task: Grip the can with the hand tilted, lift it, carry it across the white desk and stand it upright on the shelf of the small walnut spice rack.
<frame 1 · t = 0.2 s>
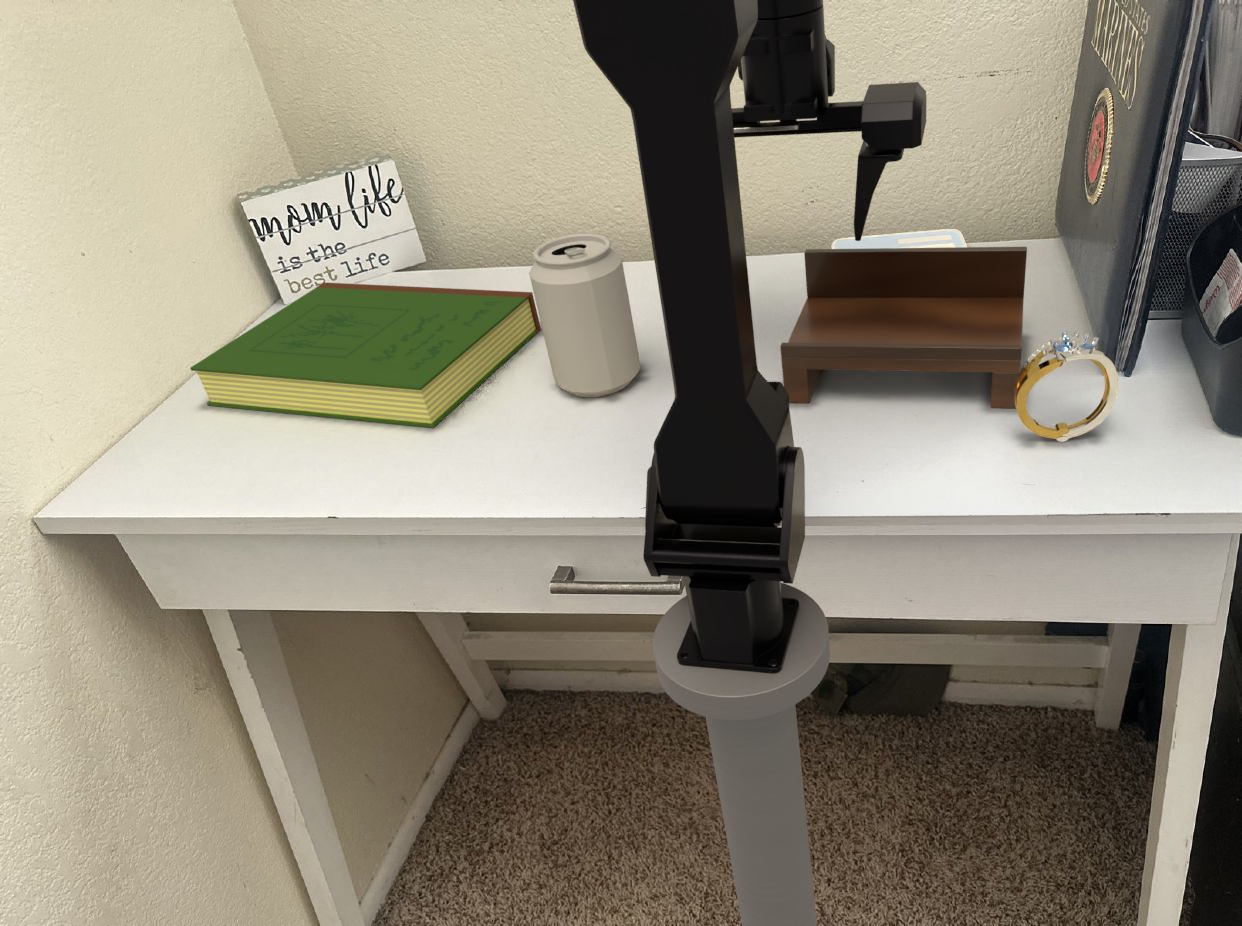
hand: (797, 240, 76), 12 cm above the table, tool pointing down, fingers open, 9 cm apart
calculator: (904, 288, 97), on the table
ring: (1060, 441, 73), on the table
spice rack: (906, 369, 84), on the table
can: (599, 383, 88), on the table
hardcover book: (376, 367, 95), on the table
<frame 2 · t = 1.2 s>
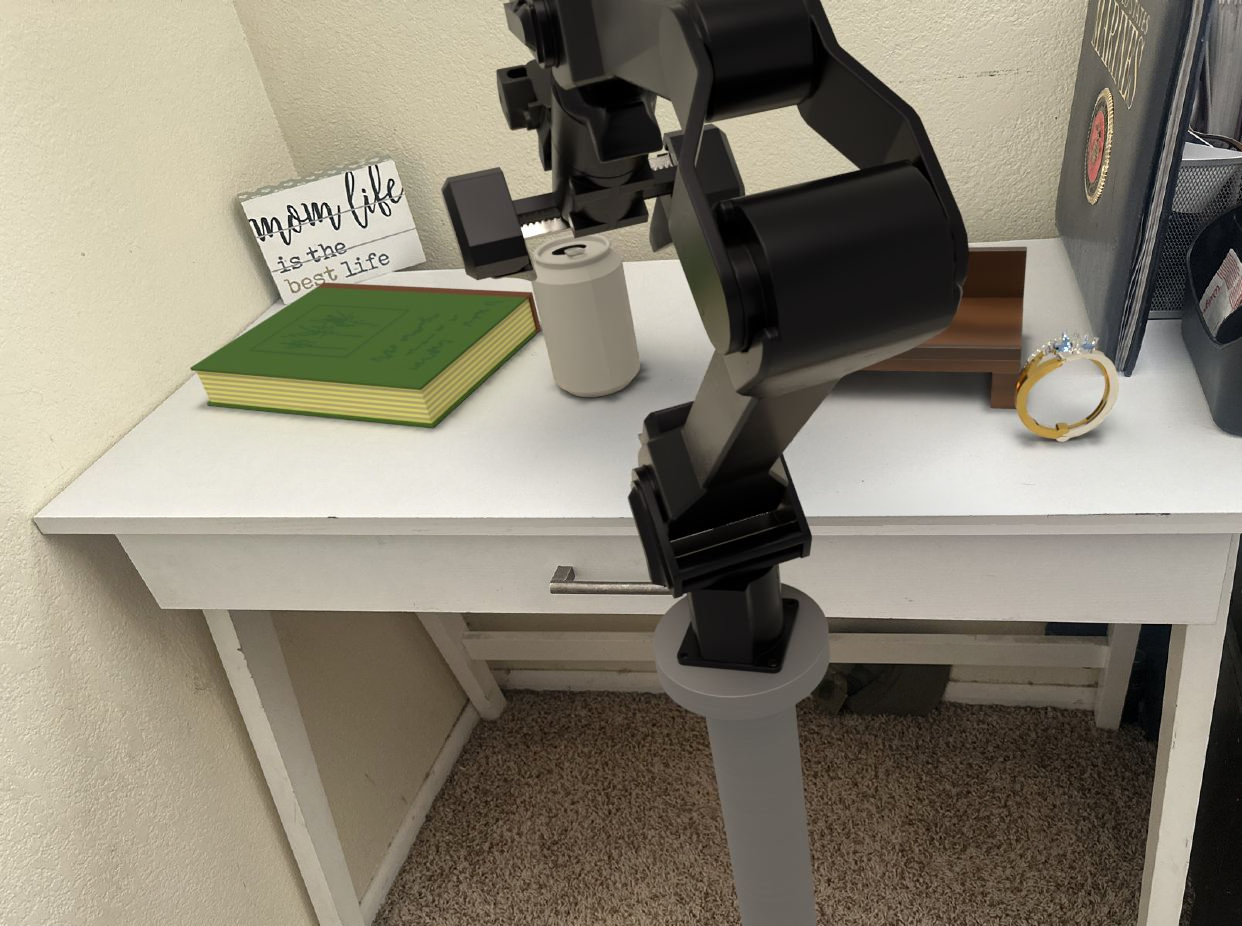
hand: (593, 260, 74), 13 cm above the table, tool tilted 45°, fingers open, 9 cm apart
nothing on the table moved.
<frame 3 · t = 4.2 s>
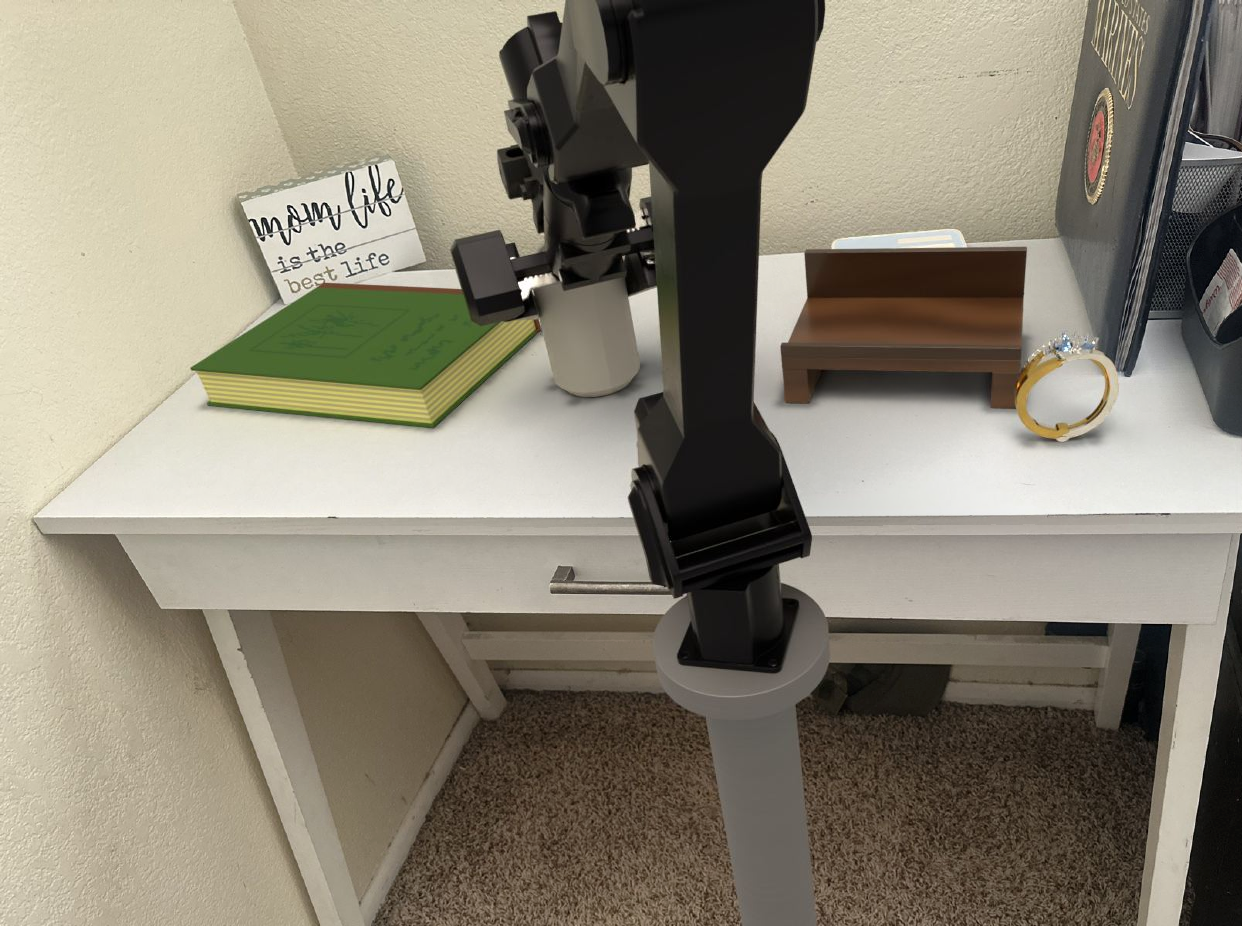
hand: (580, 302, 85), 7 cm above the table, tool tilted 45°, fingers closed on can, 7 cm apart
can: (599, 382, 88), on the table, touching gripper
everything else where it was.
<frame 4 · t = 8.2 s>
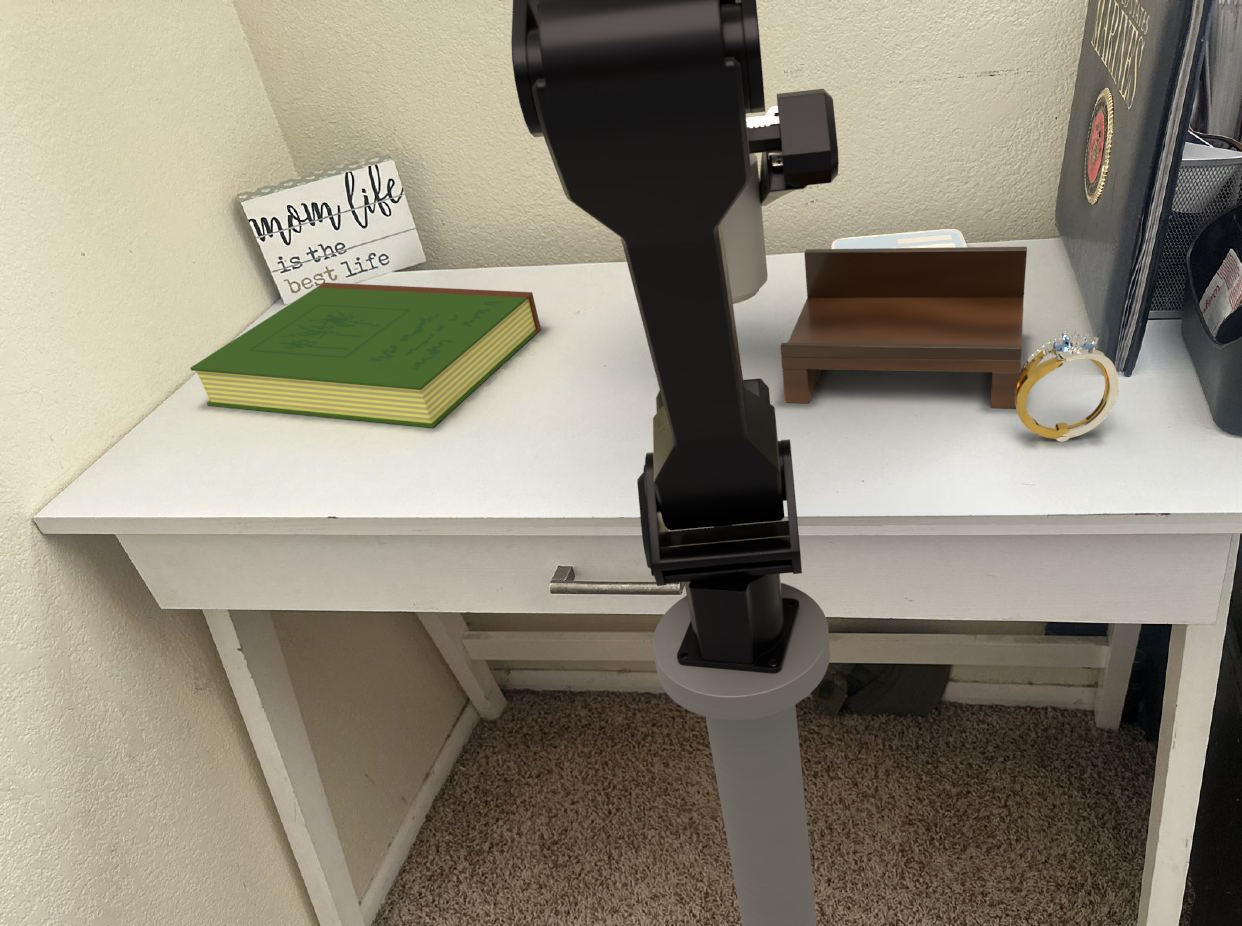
hand: (714, 205, 81), 13 cm above the table, tool tilted 45°, fingers closed on can, 7 cm apart
can: (723, 294, 84), point 6 cm above the table, touching gripper
everything else where it was.
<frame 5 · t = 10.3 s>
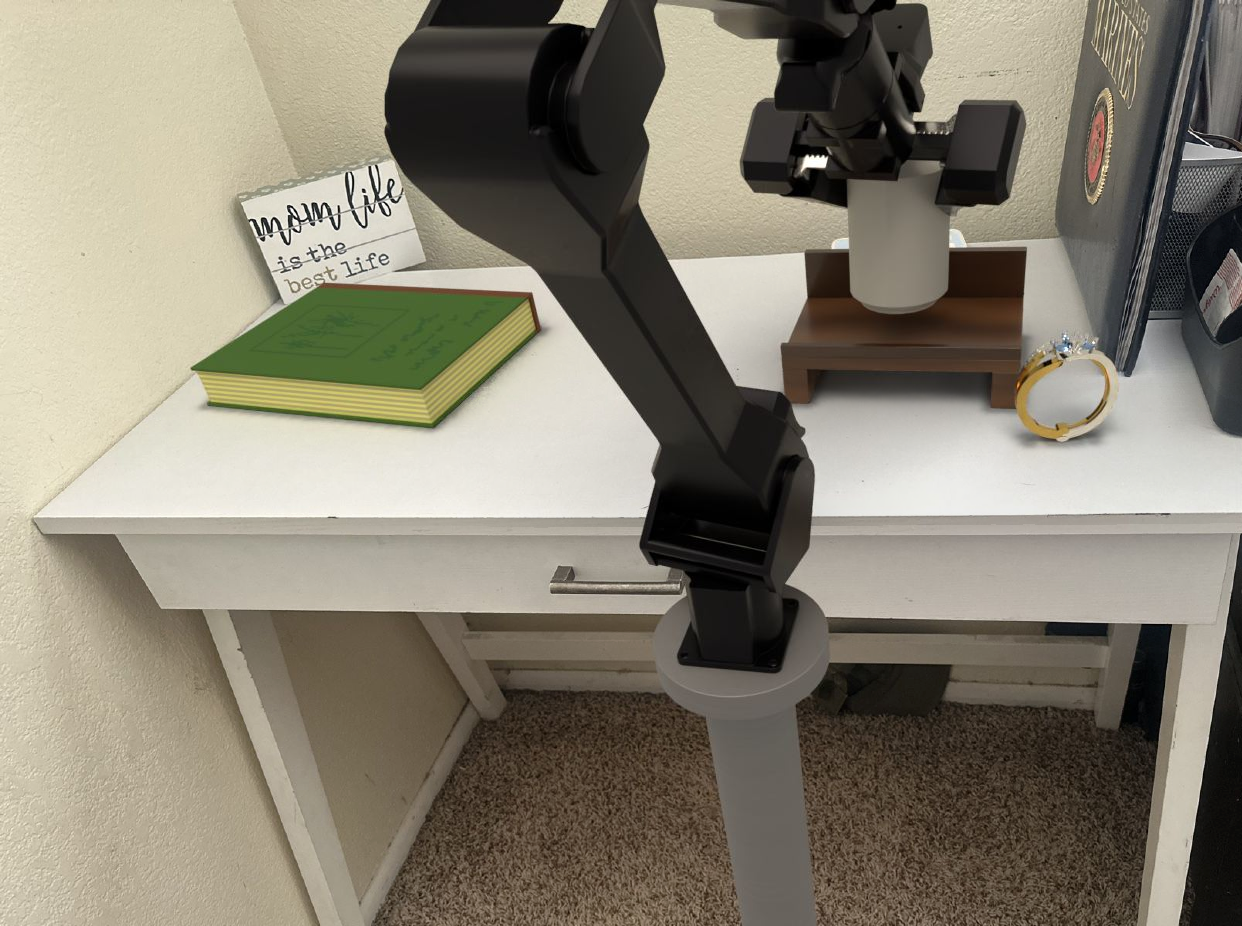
hand: (905, 207, 76), 13 cm above the table, tool tilted 45°, fingers closed on can, 7 cm apart
can: (899, 301, 79), point 6 cm above the table, touching gripper
everything else where it was.
when the fingers open (11 cm above the table, at t = 12.2 s): can stays where it is, resting on spice rack.
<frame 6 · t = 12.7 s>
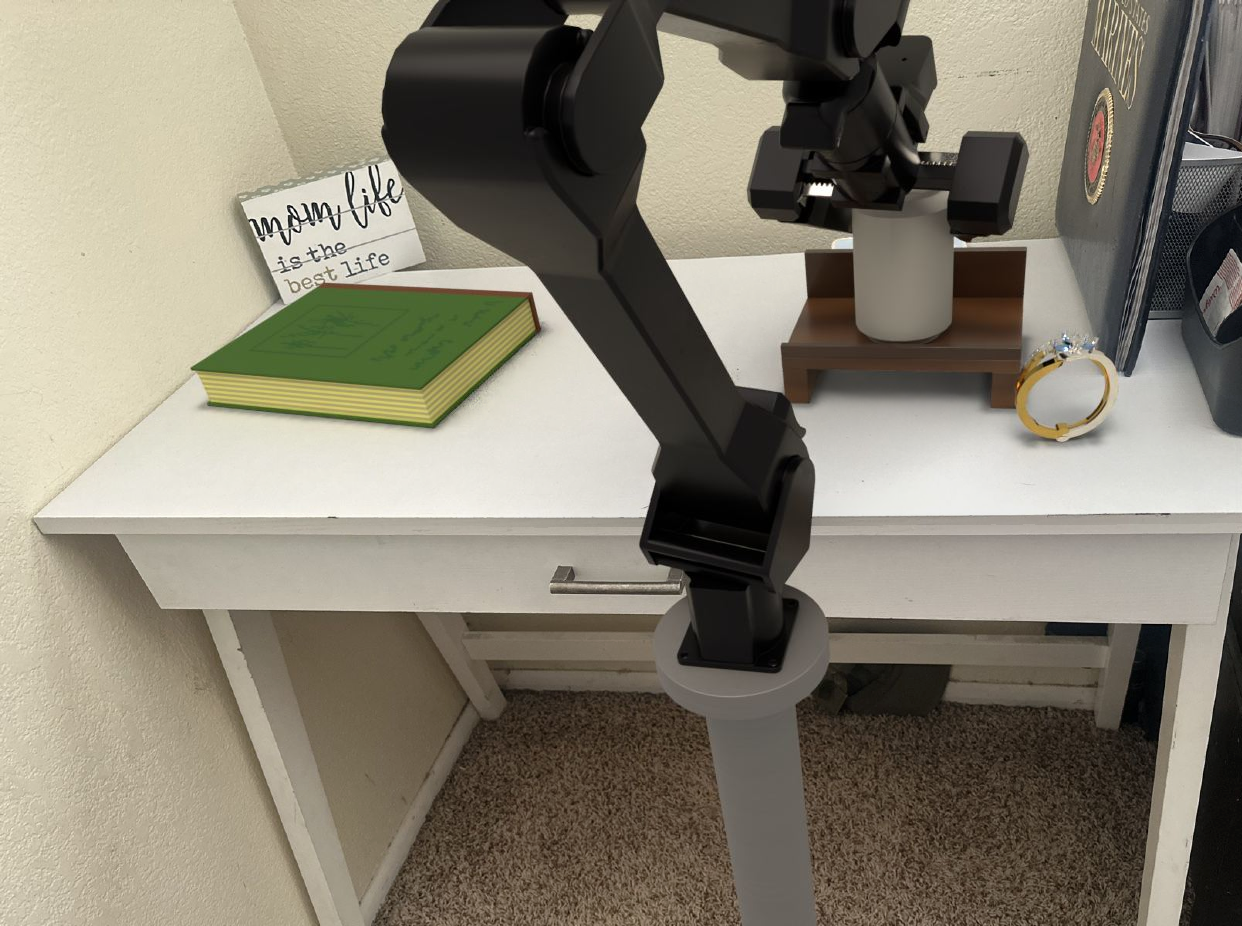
hand: (910, 231, 77), 11 cm above the table, tool tilted 45°, fingers open, 9 cm apart
can: (903, 333, 81), point 4 cm above the table, touching spice rack
everything else where it was.
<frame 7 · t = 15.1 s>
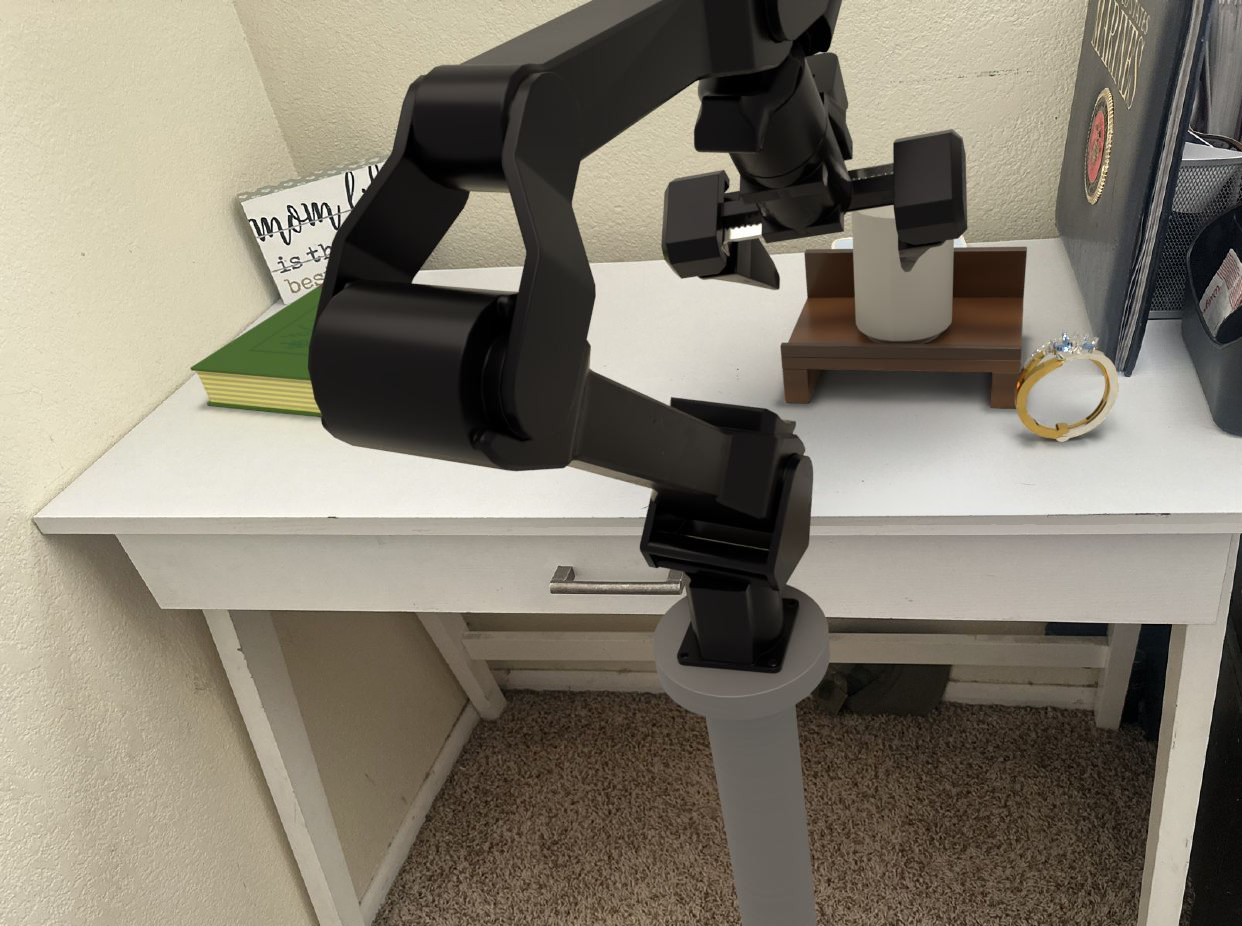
hand: (841, 274, 70), 12 cm above the table, tool tilted 40°, fingers open, 9 cm apart
nothing on the table moved.
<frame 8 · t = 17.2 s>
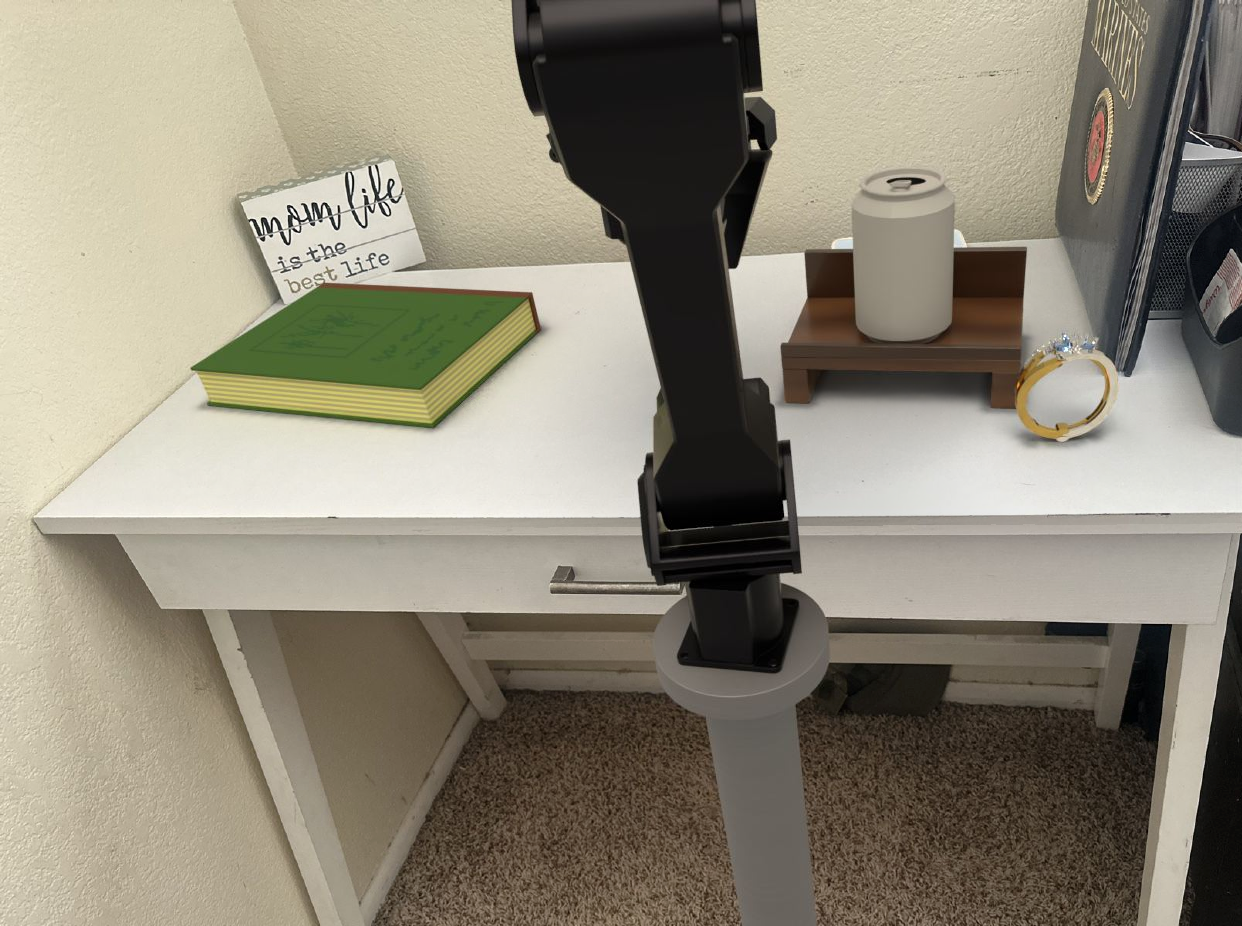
hand: (713, 295, 67), 13 cm above the table, tool pointing down, fingers open, 9 cm apart
nothing on the table moved.
at the end: can inside the target area on the spice rack (0.6 cm from its centre), point 3.8 cm above the spice rack's base; can tilted 0°; the gripper is holding nothing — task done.
